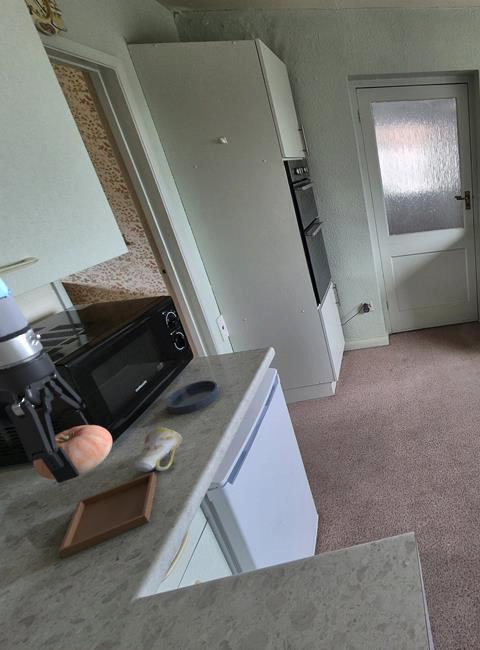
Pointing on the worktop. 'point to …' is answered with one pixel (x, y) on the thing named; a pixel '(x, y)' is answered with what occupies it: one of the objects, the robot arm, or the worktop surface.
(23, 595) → the worktop surface
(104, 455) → the pumpkin
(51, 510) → the worktop surface
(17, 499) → the worktop surface
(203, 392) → the dark blue ring
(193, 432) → the worktop surface
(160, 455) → the mug
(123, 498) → the tray
